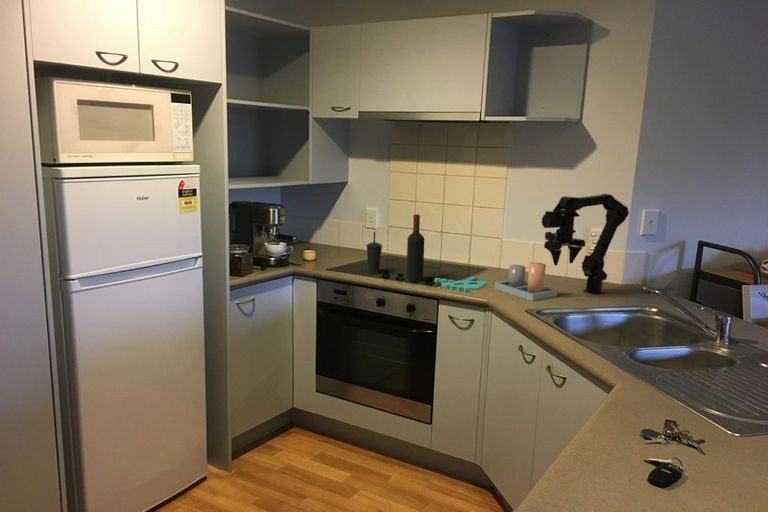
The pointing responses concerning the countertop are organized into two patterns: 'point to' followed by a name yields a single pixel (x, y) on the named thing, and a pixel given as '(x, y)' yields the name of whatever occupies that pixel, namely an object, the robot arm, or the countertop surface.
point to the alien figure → (462, 284)
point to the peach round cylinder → (536, 277)
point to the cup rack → (525, 291)
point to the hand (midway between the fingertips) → (563, 264)
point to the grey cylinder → (516, 276)
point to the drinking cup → (374, 256)
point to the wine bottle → (415, 253)
